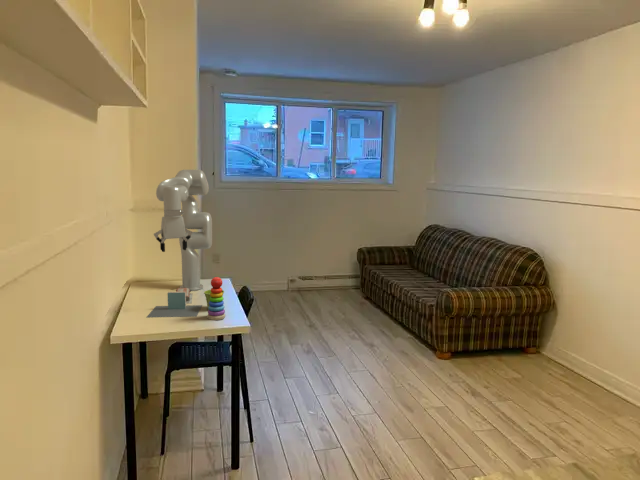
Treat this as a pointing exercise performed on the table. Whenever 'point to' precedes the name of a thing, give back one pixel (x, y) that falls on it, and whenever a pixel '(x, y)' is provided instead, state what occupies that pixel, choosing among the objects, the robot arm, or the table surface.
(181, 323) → the table surface
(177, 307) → the tile
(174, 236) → the robot arm
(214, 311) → the stacking toy
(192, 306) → the mat
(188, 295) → the packaged product
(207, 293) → the plant pot
